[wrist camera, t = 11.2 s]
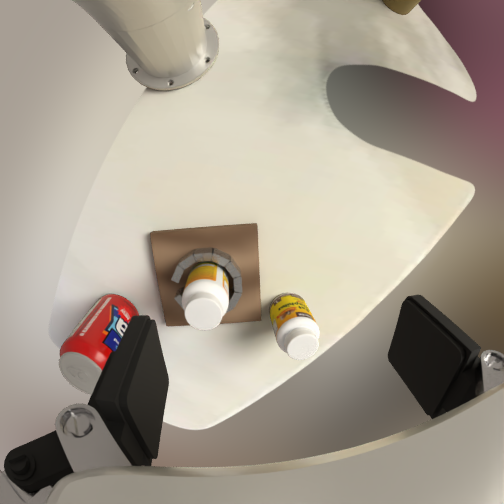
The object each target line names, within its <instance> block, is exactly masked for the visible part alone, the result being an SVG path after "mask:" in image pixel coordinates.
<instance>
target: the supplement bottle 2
mask: <svg viewBox="0 0 504 504" xmlns="http://www.w3.org/2000/svg"><path fill="white" fill-rule="evenodd" d="M269 313H270V318H271V321H272V325H273V329H274V333H275V336H276V340H277V343H278V345H279V347H280V348H281V349H282V350H283V351H284V352H286V353H287V354H288V355H289V356H290V357H291V358H292V359H295V360H304V359H307V358H309V357H311V356H312V355H314V354H315V352H316V351H317V349H318V346H319V342H318V339H319V334H320V332H319V328H318V325H317V323H316V322H315V320H314V318H313V316H312V314H311V312H310V310H309V308H308V307H307V305H306V303H305V301H304V300H303V298H302V297H301V296H299V295H297V294H294V293H285V294H282V295H280V296H278V297H277V298H275V299H274V300H273V302H272V303H271V306H270V310H269Z"/></svg>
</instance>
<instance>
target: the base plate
mask: <svg viewBox="0 0 504 504" xmlns="http://www.w3.org/2000/svg"><path fill="white" fill-rule="evenodd" d="M150 236H151V243H152V250H153V257H154V263H155V269H156V275H157V281H158V286H159V291H160V297H161V302H162V307H163V312H164V316H165V321H166V326H186V325H190V324H189V323H188V322H187V320H186V318H185V313H184V312H185V311H184V310H183V308H182V307H181V306H180V305H179V304H178V302H177V301H176V300H175V299H174V298H175V295H176V292H177V290H179V289H180V288H182V287H183V288H185V285H186V282H187V279H188V276H189V273H190V271H191V269H192V268H193V267H194V266H195V265H196V264H198V263H200V262H203V261H200V262H195V263H194V264H192V265H191V266H189V267H188V268H186V269H185V270H184V271H183V274H182V276H181V278H180V280H179V283H176V282H174V281H172V280H171V279H172V277H173V274H174V272H175V270H176V267H177V265H178V263H179V261H180V259H181V258H182V257H184V256H185V255H186V254H188V253H189V252H191V251H192V250H194V249H195V250H196V248H210V247H213V249H214V248H216V249H218V250H221V251H223V252H225V253H227V254H229V255H230V256H231V257H232V258H233V259H234V261H235V262H236V264H237V265H238V266H239V268H240V270H241V278H242V295H241V297H240V299H239V301H238V303H237V304H236V306H235V308H234V309H232V310H231V311H229V312H227V313H226V314H225V315H224V316H223V317H222V320H221V322H220V323H219V324H223V323H237V322H249V321H261V299H260V275H259V252H258V230H257V224H256V223H253V224H238V225H224V226H211V227H198V228H186V229H174V230H162V231H152V232H151V233H150ZM212 262H213V261H212ZM221 266H222V265H221ZM222 267H223V268H224V269H225V271H226V272H227V275H228V280H229V293H230V291H231V289H232V288H233V286H234V279H233V277H232V276H231V274H230V273H229V272H228V270H227V269H226V268H225V267H224V266H222Z"/></svg>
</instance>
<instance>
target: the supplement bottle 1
mask: <svg viewBox="0 0 504 504" xmlns="http://www.w3.org/2000/svg"><path fill="white" fill-rule="evenodd" d="M228 305H229V280H228V275H227V272H226V271H225V269H224V268H223V267H222V266H221V265H220V264H217V263H215V262H212V261H203V262H200V263H198V264H196V265H195V266H194V267H193V268H192V269H191V271H190V273H189V276H188V279H187V282H186V285H185V288H184V292H183V295H182V306H183V309H184V311H185V312H184V313H185V318H186V320H187V322H188V323H189V324H190V325H191V326H192V327H193V328H195V329H198V330H204V331H205V330H211V329H213V328H215V327H217V326H218V325H219V323H220V322H221V320H222V317H223V316H224V315H225V313H226V311H227V309H228Z"/></svg>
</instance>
